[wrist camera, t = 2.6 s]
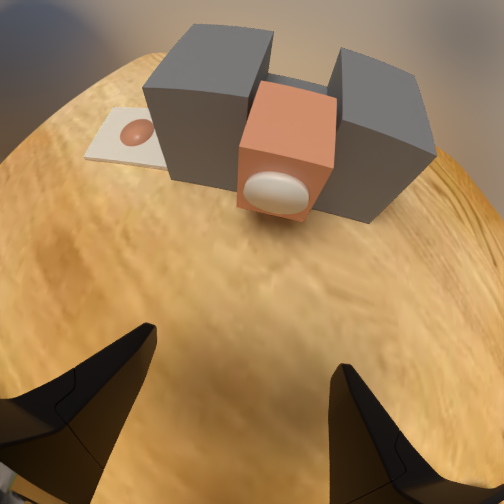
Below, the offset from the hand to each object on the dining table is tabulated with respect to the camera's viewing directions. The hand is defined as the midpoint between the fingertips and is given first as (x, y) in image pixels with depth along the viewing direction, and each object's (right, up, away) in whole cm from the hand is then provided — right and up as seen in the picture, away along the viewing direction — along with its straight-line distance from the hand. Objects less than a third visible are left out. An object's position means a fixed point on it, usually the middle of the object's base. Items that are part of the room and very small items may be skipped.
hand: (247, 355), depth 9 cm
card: (-13, +17, +19) cm, 28 cm away
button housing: (+3, +13, +19) cm, 23 cm away
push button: (+2, +9, +12) cm, 15 cm away
